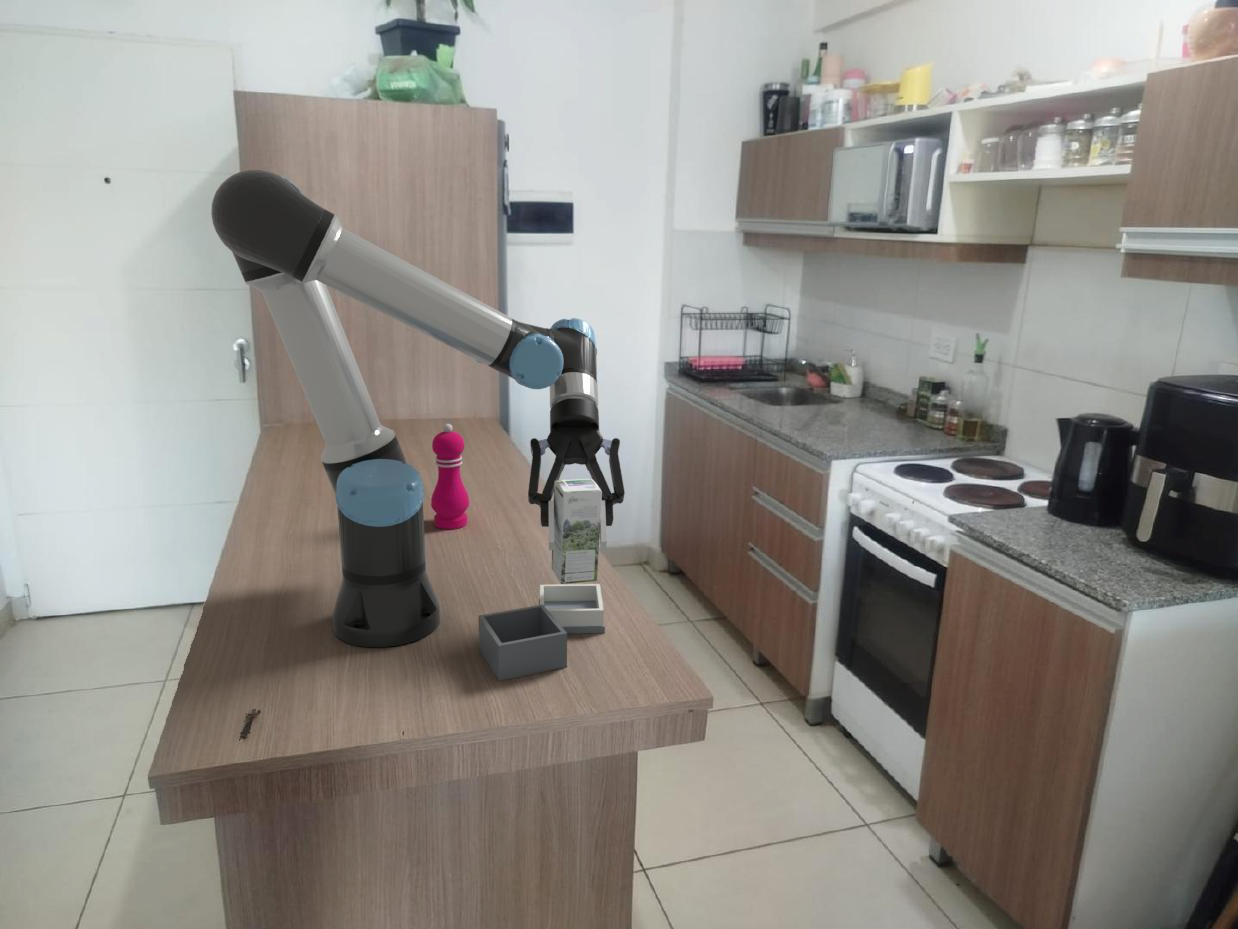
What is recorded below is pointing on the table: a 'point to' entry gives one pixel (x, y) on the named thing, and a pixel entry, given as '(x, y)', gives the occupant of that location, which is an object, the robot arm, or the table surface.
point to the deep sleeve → (522, 642)
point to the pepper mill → (449, 481)
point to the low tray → (575, 606)
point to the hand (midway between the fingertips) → (577, 545)
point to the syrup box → (576, 530)
